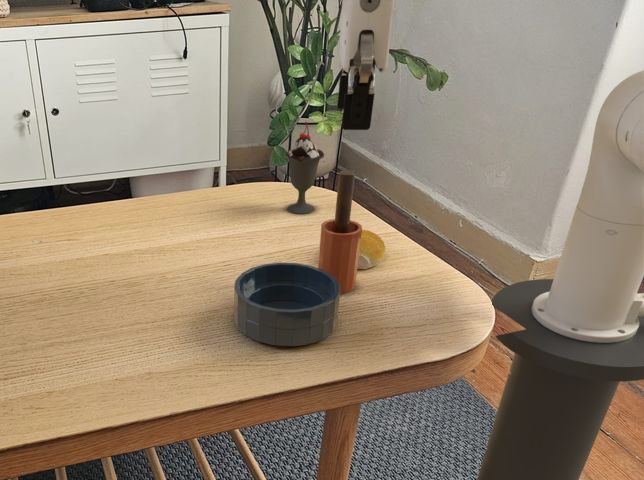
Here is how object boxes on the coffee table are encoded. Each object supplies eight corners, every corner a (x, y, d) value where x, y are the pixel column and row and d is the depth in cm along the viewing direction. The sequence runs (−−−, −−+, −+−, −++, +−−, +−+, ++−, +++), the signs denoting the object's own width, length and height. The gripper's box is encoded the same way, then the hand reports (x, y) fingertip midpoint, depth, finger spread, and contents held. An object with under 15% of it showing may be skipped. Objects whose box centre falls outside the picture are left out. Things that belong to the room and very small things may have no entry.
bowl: (333, 299, 89) (337, 264, 86) (338, 352, 79) (342, 314, 76) (238, 296, 91) (238, 261, 88) (230, 347, 81) (230, 309, 78)
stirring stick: (342, 278, 93) (354, 170, 84) (343, 285, 92) (355, 175, 83) (328, 278, 94) (338, 169, 85) (328, 284, 92) (339, 175, 83)
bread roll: (386, 248, 102) (389, 225, 100) (379, 273, 95) (382, 248, 93) (333, 242, 105) (336, 219, 103) (323, 266, 98) (325, 241, 96)
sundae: (305, 199, 121) (311, 117, 113) (326, 211, 116) (334, 126, 108) (275, 206, 119) (278, 123, 111) (295, 218, 114) (300, 132, 105)
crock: (353, 276, 95) (360, 219, 90) (356, 294, 90) (363, 235, 85) (316, 275, 96) (320, 218, 91) (316, 293, 91) (321, 234, 86)
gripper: (419, -41, 62) (392, 138, 72) (396, -50, 76) (376, 101, 86) (339, -39, 63) (323, 138, 73) (332, -48, 78) (319, 101, 87)
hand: (352, 118), depth 79 cm, fingers open, 9 cm apart
